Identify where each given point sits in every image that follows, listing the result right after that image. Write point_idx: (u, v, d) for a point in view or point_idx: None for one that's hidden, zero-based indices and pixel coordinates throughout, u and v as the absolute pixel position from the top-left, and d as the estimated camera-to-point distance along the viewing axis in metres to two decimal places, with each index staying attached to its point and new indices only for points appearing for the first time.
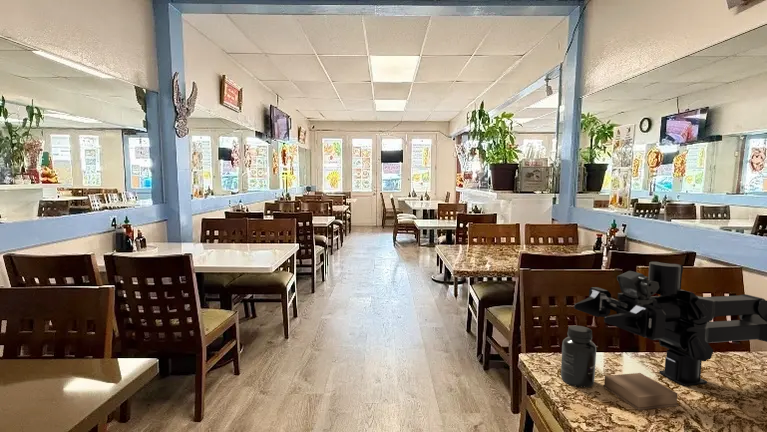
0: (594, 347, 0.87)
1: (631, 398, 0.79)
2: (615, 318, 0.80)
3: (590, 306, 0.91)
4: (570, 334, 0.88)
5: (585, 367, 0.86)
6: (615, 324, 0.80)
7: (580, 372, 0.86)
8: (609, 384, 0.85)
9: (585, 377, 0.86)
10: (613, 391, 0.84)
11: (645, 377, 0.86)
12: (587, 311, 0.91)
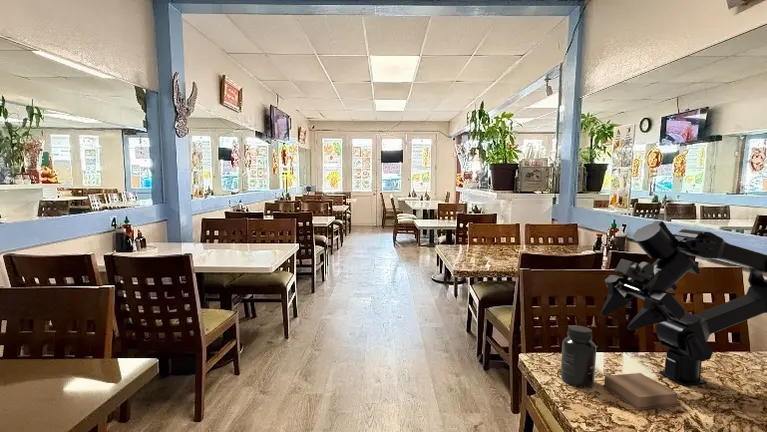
0: (594, 347, 0.87)
1: (631, 398, 0.79)
2: (636, 322, 0.84)
3: (614, 303, 0.94)
4: (570, 334, 0.88)
5: (585, 367, 0.86)
6: (640, 326, 0.84)
7: (580, 372, 0.86)
8: (609, 384, 0.85)
9: (585, 377, 0.86)
10: (613, 391, 0.84)
11: (645, 377, 0.86)
12: (615, 308, 0.94)
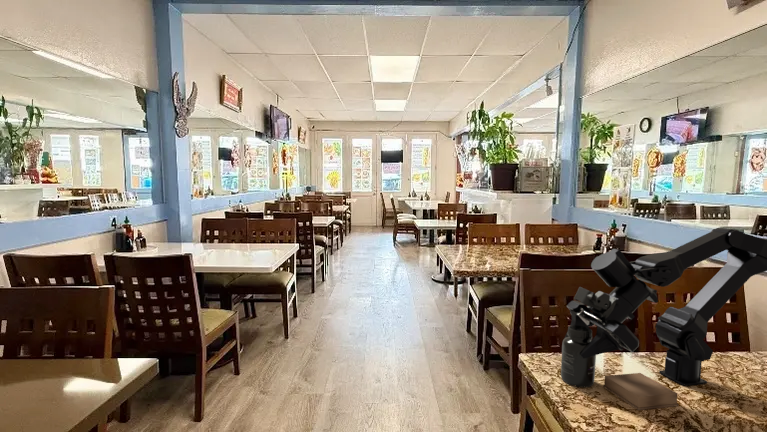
0: None
1: (631, 398, 0.79)
2: (588, 350, 0.84)
3: None
4: (570, 334, 0.88)
5: (585, 367, 0.86)
6: (592, 354, 0.85)
7: (580, 372, 0.86)
8: (609, 384, 0.85)
9: (585, 377, 0.86)
10: (613, 391, 0.84)
11: (645, 377, 0.86)
12: None
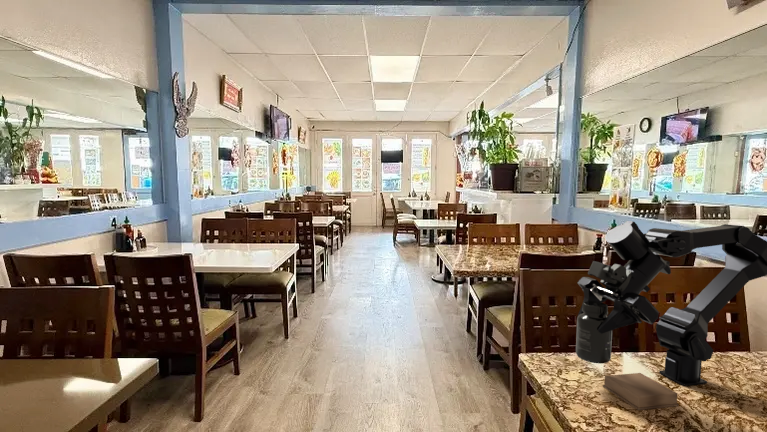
0: None
1: (631, 398, 0.79)
2: (606, 325, 0.82)
3: None
4: (585, 310, 0.86)
5: (602, 343, 0.83)
6: (610, 329, 0.82)
7: (597, 348, 0.83)
8: (609, 384, 0.85)
9: (603, 353, 0.83)
10: (613, 391, 0.84)
11: (645, 377, 0.86)
12: None
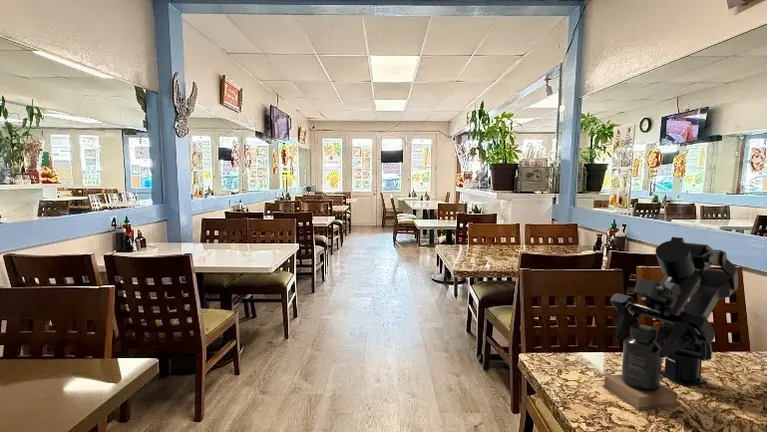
0: (661, 346, 0.81)
1: (631, 398, 0.79)
2: (668, 349, 0.77)
3: (626, 324, 0.87)
4: (637, 335, 0.81)
5: (656, 369, 0.79)
6: (671, 352, 0.78)
7: (652, 375, 0.79)
8: (609, 384, 0.85)
9: (657, 380, 0.80)
10: (613, 391, 0.84)
11: None
12: (627, 330, 0.87)
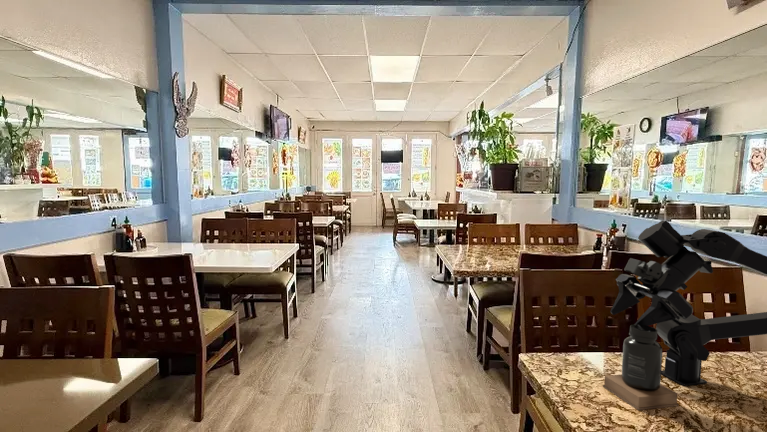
0: None
1: (631, 398, 0.79)
2: (643, 320, 0.85)
3: (625, 301, 0.95)
4: (637, 335, 0.81)
5: (656, 369, 0.79)
6: (647, 324, 0.85)
7: (652, 375, 0.79)
8: (609, 384, 0.85)
9: (657, 380, 0.80)
10: (613, 391, 0.84)
11: None
12: (625, 307, 0.95)
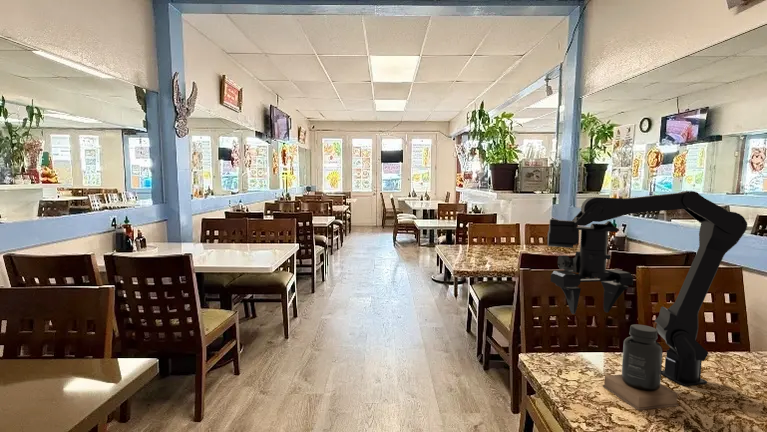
0: None
1: (631, 398, 0.79)
2: (569, 305, 0.96)
3: (608, 295, 0.97)
4: (637, 335, 0.81)
5: (656, 369, 0.79)
6: (572, 306, 0.95)
7: (652, 375, 0.79)
8: (609, 384, 0.85)
9: (657, 380, 0.80)
10: (613, 391, 0.84)
11: None
12: (611, 299, 0.96)
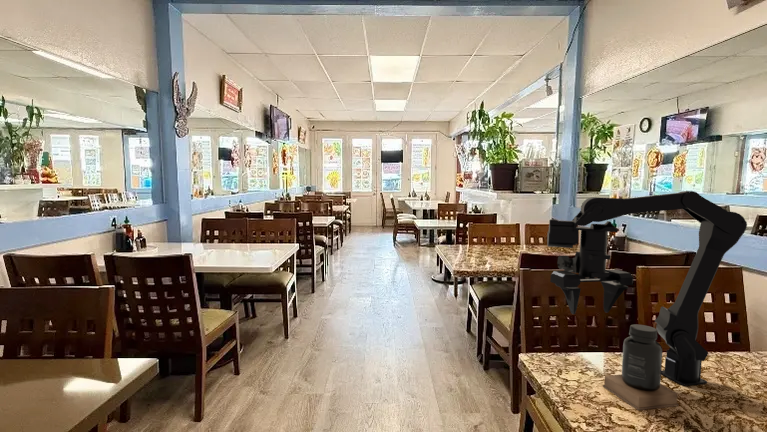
0: None
1: (631, 398, 0.79)
2: (569, 305, 0.96)
3: (608, 295, 0.97)
4: (637, 335, 0.81)
5: (656, 369, 0.79)
6: (572, 307, 0.95)
7: (652, 375, 0.79)
8: (609, 384, 0.85)
9: (657, 380, 0.80)
10: (613, 391, 0.84)
11: None
12: (611, 299, 0.96)
